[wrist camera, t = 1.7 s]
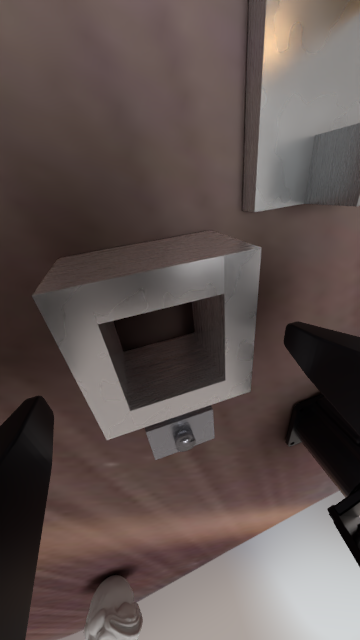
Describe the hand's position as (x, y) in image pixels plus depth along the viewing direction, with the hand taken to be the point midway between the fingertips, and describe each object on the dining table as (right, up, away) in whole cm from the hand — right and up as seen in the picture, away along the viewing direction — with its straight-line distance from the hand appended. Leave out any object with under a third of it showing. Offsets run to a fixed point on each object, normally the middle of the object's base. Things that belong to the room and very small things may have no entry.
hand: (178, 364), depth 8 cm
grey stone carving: (-9, -31, +20) cm, 38 cm away
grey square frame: (-1, +2, +4) cm, 4 cm away
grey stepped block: (-1, -3, +7) cm, 8 cm away
